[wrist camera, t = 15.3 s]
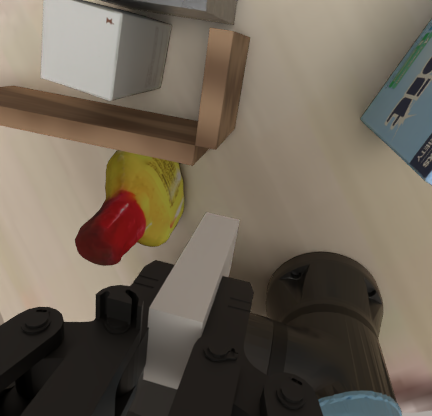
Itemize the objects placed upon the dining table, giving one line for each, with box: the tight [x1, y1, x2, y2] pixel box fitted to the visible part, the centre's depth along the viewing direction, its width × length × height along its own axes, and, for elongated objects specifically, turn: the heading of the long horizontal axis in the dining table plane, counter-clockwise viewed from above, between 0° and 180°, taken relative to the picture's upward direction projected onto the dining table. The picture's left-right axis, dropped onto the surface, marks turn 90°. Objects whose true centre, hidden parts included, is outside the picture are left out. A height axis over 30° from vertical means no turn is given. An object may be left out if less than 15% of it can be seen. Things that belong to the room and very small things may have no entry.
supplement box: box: [41, 0, 172, 101], centre depth 36 cm, size 7×7×13 cm
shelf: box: [0, 28, 250, 166], centre depth 39 cm, size 12×30×11 cm, turn 82°
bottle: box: [75, 150, 184, 266], centre depth 39 cm, size 12×6×20 cm, turn 14°
